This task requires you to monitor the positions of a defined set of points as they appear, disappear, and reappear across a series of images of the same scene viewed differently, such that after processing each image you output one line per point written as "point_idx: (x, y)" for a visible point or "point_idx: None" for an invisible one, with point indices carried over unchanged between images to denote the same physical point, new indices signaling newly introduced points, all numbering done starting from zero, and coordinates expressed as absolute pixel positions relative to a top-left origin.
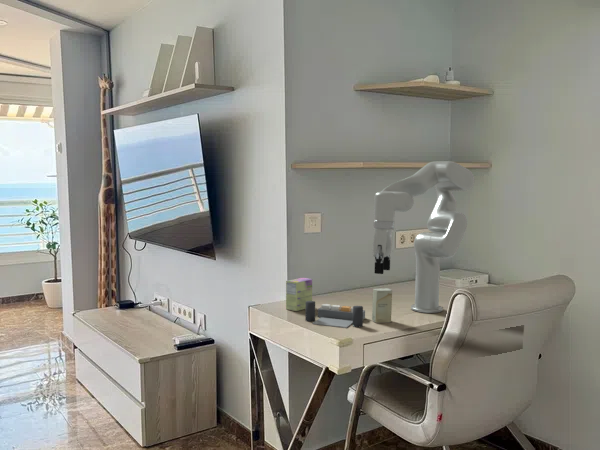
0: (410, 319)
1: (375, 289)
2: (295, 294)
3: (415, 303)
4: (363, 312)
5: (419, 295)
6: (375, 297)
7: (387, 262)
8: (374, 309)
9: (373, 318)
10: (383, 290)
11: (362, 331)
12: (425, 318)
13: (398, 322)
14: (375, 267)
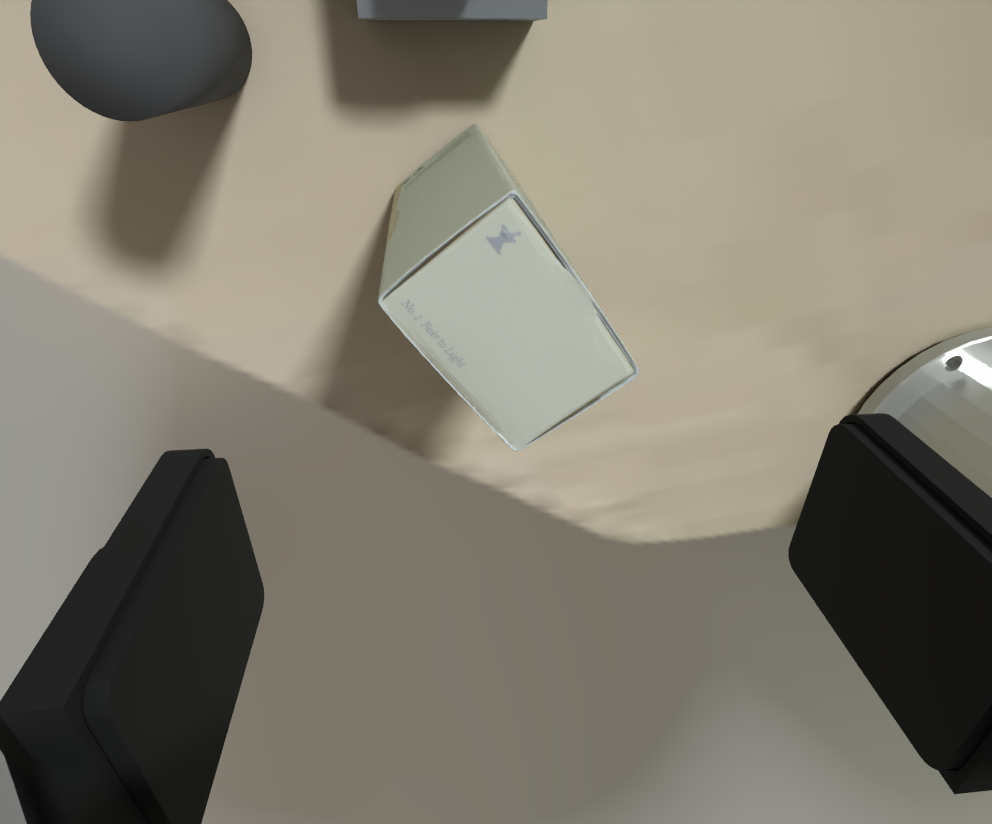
0: (631, 398)
1: (459, 247)
2: None
3: (977, 389)
4: (476, 18)
5: (986, 470)
6: (413, 233)
7: (906, 680)
8: (429, 183)
9: (442, 153)
10: (454, 365)
11: (56, 155)
12: (691, 471)
13: None
14: (113, 574)
